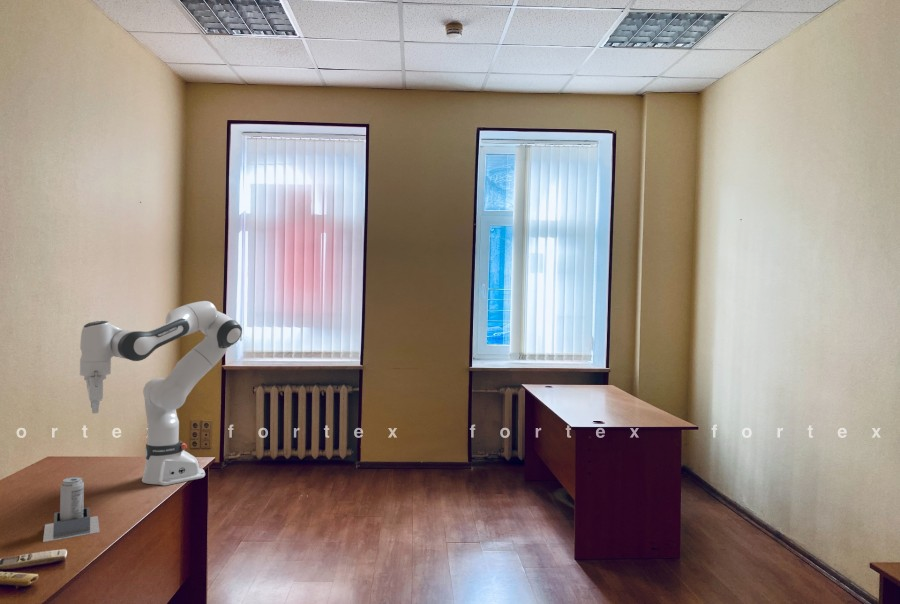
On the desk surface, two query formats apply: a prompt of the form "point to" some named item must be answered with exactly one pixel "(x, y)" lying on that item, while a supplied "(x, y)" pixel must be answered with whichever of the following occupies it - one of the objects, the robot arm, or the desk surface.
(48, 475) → the desk surface
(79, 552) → the desk surface
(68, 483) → the energy drink can
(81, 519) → the socket
